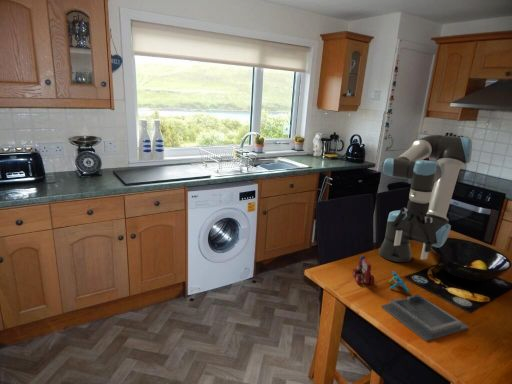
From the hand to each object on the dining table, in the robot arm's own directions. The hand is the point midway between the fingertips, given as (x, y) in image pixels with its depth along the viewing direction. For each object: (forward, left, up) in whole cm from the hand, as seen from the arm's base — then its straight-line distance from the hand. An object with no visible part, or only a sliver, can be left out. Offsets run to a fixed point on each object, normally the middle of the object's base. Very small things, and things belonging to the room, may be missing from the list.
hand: (409, 251), depth 136 cm
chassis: (+8, +17, -17) cm, 25 cm away
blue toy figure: (-1, 0, -18) cm, 18 cm away
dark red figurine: (+11, -12, -18) cm, 24 cm away
